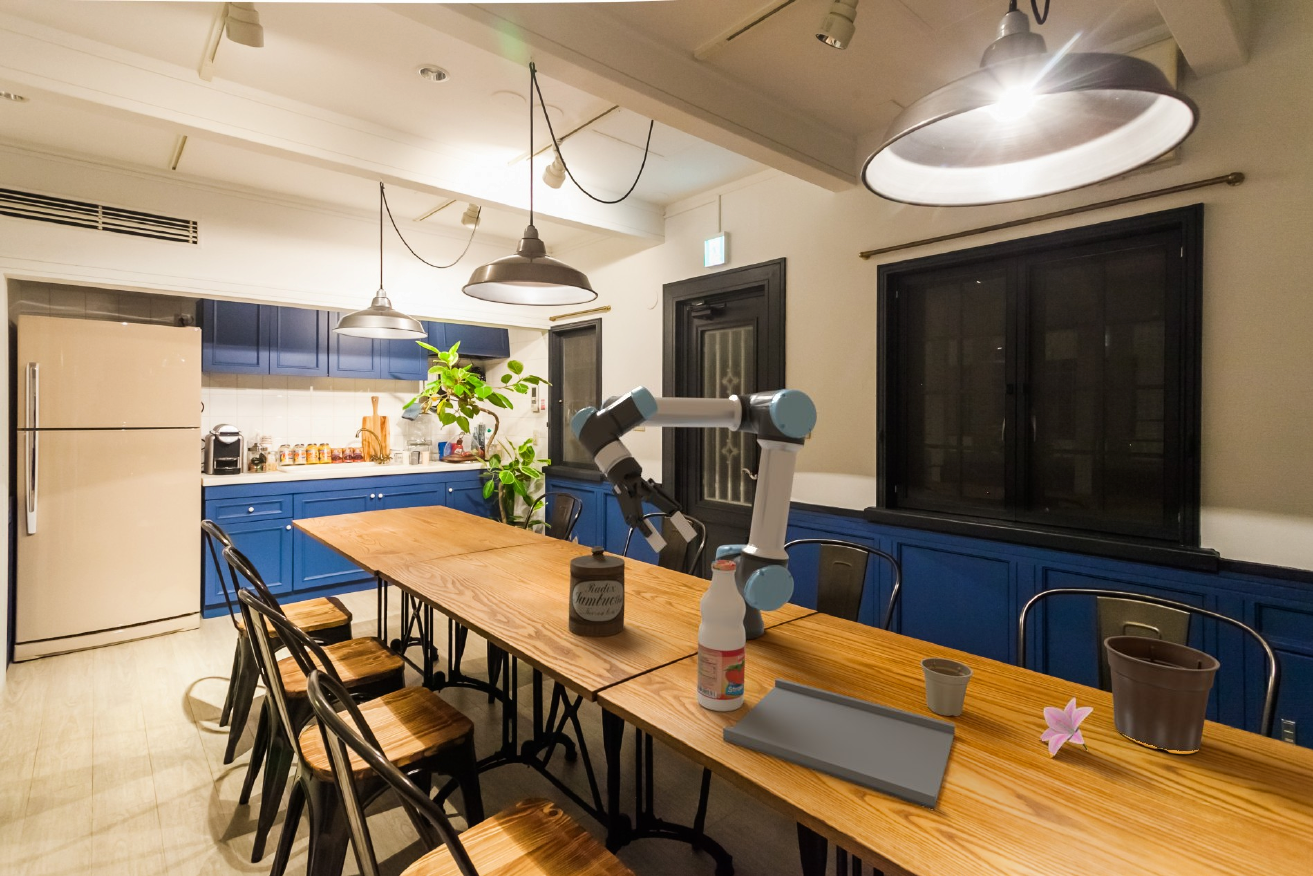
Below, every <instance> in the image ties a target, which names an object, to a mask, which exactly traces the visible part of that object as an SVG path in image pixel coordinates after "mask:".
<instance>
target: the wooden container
mask: <svg viewBox="0 0 1313 876" xmlns="http://www.w3.org/2000/svg"><path fill="white" fill-rule="evenodd" d="M590 552H591V554H588V555H582V556H577V557H574V558H572V559H571V560H570V561H569V563H570V565H569V566H570V567H569V570H570V571H569V572H570V577H569V596H568V597H569V599H568V629H569V631H570V632H572V634H576V635H579V636H582V637H588V638H589V637H590V638H592V637H593V638H598V637H599V638H600V637H601V638H602V637H608V636H612V635H613V636H614V635H617V634H619V633H620V632H622V631H623V629H624V627H625V626H624V625H625V607H626V605H625V602H626V601H625V595H626V593H625V592H626V591H625V583H626V580H625V578H626V577H625V575H626V574H625V569H626V568H625V567H626V566H625V565H626V564H625V563H626V561H625V560H624V558H622V557H619V556H614V555H609V554H608V555H607V554H604V552H605V548H604V547H603V546H601V545H595V546H593V547H592V548H591V550H590Z"/></svg>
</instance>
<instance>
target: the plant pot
mask: <svg viewBox="0 0 1313 876" xmlns="http://www.w3.org/2000/svg"><path fill="white" fill-rule="evenodd" d="M1103 645H1104V647H1105V648H1106V651H1107V661H1108V662H1107V663H1108V665H1109V668H1110V677H1111V690H1112V691H1111V692H1112V706H1113V708H1112V709H1113V723H1114V727H1115V729H1117V730H1118V731H1119V732H1121V733H1122V734H1124V735H1126V736H1128V737H1130V738H1132V739H1135V740H1136V741H1140V742H1142V743H1146V744H1148V745H1153V746H1155V747H1157V748H1163V749H1167V750H1177V751H1178V750H1179V751H1192V750H1193V751H1194V750H1198V749H1199V748H1200V749H1201V745H1202V737H1203V732H1204V727H1205V721H1206V720H1205V719H1206V714H1207V708H1208V707H1207V706H1208V702H1209V701H1208V700H1209V696H1210V691H1211V689H1212V688H1213V686H1214V681H1215V675H1216V671H1218V670H1219V669H1220V667H1221V663H1220V662H1219V661H1218V660H1217V659H1216V658H1214V657H1213V656H1211V655H1210V654H1207V653H1206V652H1203V651H1201V650H1198V649H1196V648H1192V647H1188V646H1186V645H1183V644H1179V643H1174V642H1172V641H1167V640H1162V639H1158V638H1157V639H1156V638H1152V637H1144V636H1133V635H1118V636H1111V637H1110V636H1109V637H1107V638H1105V639H1104V641H1103ZM1117 730H1116V731H1117ZM1118 731H1117V732H1118ZM1119 732H1118V733H1119ZM1163 749H1162V750H1163Z"/></svg>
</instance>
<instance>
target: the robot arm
mask: <svg viewBox="0 0 1313 876" xmlns="http://www.w3.org/2000/svg"><path fill="white" fill-rule="evenodd" d="M817 413H818V412H817V408H816V405H815V403H814V401H813V400H812V399H811V397H810V396H809V395H808V394H806V393H805V392H803V391H802V390H799V389H793V388H792V389H791V388H781V389H777V390H776V389H775V390H765V391H760V392H756V393H748V394H731V395H730V397H728V398H718V397H717V398H715V397H714V398H712V397H710V398H709V397H708V398H707V397H664V396H663V397H660V396H658V397H656V396H653V394H652V393H651V392H650V390H648V389H647V387H645V386H638V387H636V388H634V389H632V390H630V391H629V392H628V393H626V394H623V395H619V396H615V395H614V396H610V397H608V398H607V399H606V400H605V401H603V403H602V404H601V406H600V410H598V409H597V408H596V407H595V406H587V407H586V408H585V407H584V408H582V409H580V410H578V411H577V412H576V413H575V414H574V415H573V416H572V419H570V424H569V427H570V430H571V432H573V434H574V435H575V437H576V439H577V440H578V443H580V445H581V446H582V447H583V448H584V450H585V451H586V452H587V453H588V455H589V456H590V457H591V459H592V460H593V461H594V463H595V464H596V466H598V468H599V469H598V470H599V471H601V472H602V473H603V475H605V476H606V479H607V481H608V482H609V484H610V485H611V486H612V487H613V488H611V491H612V493H613V495H614V496H615V497H616V500H617V502H618V504H619V508H620V511H621V513H622V516H623V519H624V521H625V524H626V525H627V526H629V527H630V528H631V530H635V529H636V528H637V529H638V530H639V531H640V533H641V534H642V536H643V537H644V538H645V540H646V541H647V543H648V544H649V545H650V546H651V548H652V549H653V550H654V552H655V553H656V554H657V553H659V552H660V551H661V550H662V549H663V548H665V546H666V545H667V544H668V543H667V542H666V541H665V539H664V538H663V537H662V536H661V534H660V532H659V531H658V530H657V528H655V526H654V525H653V524H652V522H651V521H650V519H649V518H645V515H644V510H643V505H642V502H645V503H646V504H651V505H653V506H654V507H656V508H657V509H658V510H660V511H662V512H663V513H664V514H666V515H667V516H669V517H670V518H669V520H670V521H671V523H672V524H673V525H674V527H675V528H676V529H677V531H678V532H679V533H680V534H681V536H682V537H683V538H684V540H685V541H686V542H687V543H689V542H691V541H692V540H693V539H694V538H695V537H696V536H697V535H698V533H697V532H696V530H695V529H694V528H693V527H692V525H690V523H689V522H688V520H687V519H686V518H685V517H684V515H683V514H682V513H681V512H680V511H681V510H683V506H682V504H681V503H679V502H678V501H677V500H676V499H675V498H674V497H672V496H671V495H670V494H669V493H667V491H666V490H664V488H662V487H661V486H660V485H659V484H658V483H657V482H656V481H655V480H654V479H653V478H652V477H649V478H648V479H647V480H646V479H645V478H643V477H642V473H643V467H642V466H641V465H640V463H639V462H638V461H637V459H636V457H633V454H632V453H631V451H630V450H629V449H628V448H627V446H626V445H625V444H624V443H623V441H622V440H621V439H620V438H622V437H624V435H626V434H627V433H629V432H631V431H633V429H635V428H637V427H644V428H646V427H648V428H649V427H653V428H654V427H655V428H656V427H658V428H661V427H663V428H665V427H666V428H668V427H669V428H676V427H677V428H727V429H728V430H730V431H731V432H744V433H751V434H757V437H756V441H757V443H758V444H759V446H760V447H761V451H760V452H761V453H760V459H759V465H758V466H759V468H758V474H757V479H756V480H757V482H756V490H755V497H754V505H753V511H752V519H751V526H750V533H749V540H748V543H747V544H723V545H720V546H718V547H717V549H716V554H715V560H714V561H716V560H728V561H733V562H735V563H736V572H735V573H734V577H735V582H736V586H737V589H738V591H739V593H740V594H741V596H742V597H743V599H744V601H745V605H746V612H745V616H744V619H743V626H744V628H745V637H746V640H754V639H758V638H760V637H762V636H763V635H764V633H765V623H764V620H763V616H762V613H761V612H762V611H763V612H774V611H778V610H779V609H781V608H782V607H783V606H784V605H786V604H787V603H788V602H789V600H790V599H791V597H792V595H793V592H794V585H795V583H794V579H793V576H792V574H791V572H790V571H789V570H788V566H789V558H790V557H789V555H788V553H787V552H786V550H785V541H786V535H787V527H788V519H789V514H790V513H789V512H790V505H791V497H792V490H793V482H794V475H795V470H796V469H795V468H796V460H797V454H798V452H799V451H801V450H802V449H803V448H804V447H805V443H806V436H808V435H809V434H810V433H811V432H813V430H814V428H815V426H816V424H817V419H818V418H817V417H818V416H817V415H818V414H817Z"/></svg>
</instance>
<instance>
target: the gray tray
mask: <svg viewBox="0 0 1313 876" xmlns="http://www.w3.org/2000/svg"><path fill="white" fill-rule="evenodd" d="M722 730H723V732H722V740H723V741H725V742H728V743H731V744H734V745H737V746H740V747H743V748H746V749H749V750H752V751H756V752H758V753H761V754H764V755H767V756H770V757H772V758H776V759H778V760H782V761H785V762H788V763H790V764H794V765H798V766H800V767H802V768H805V769H807V770H808V769H809V770H812V771H814V772H818V773H821V774H825V775H826V776H829V777H833V778H835V779H839V780H842V781H845V782H848V783H851V784H854V785H857V786H859V787H863V788H866V789H868V790H872V791H875V792H878V793H881V794H884V795H887V796H890V797H893V798H896V799H899V800H902V801H905V802H907V803H911V804H914V805H916V804H917V806H919V805H920V806H919V807H922V806H924V807H923V808H926V809H928V808H930V809H929V810H931V809H933V810H932V811H935V809H936V806H937V802H936V801H938V797H939V795H940V791H939V790H941V787H942V783H943V780H944V776H943V775H945V771H946V769H945V768H947V765H946V764H948V761H949V757H948V756H950V754H949V753H951V750H950V749H952V746H951V745H953V743H954V739H955V735H956V734H955V732H956V724H955V723H953V722H950V721H949V722H948V721H945V720H940V719H936V718H933V717H930V716H925V715H921V714H917V713H914V712H909V711H906V710H902V709H897V708H895V707H892V706H891V707H890V706H886V705H883V704H880V703H879V704H878V703H876V702H872V701H867V700H865V699H864V700H863V699H859V698H856V697H852V696H847V695H844V694H840V693H836V692H832V691H829V690H826V689H821V688H817V687H813V686H810V685H805V684H803V683H802V684H801V683H799V682H795V681H791V680H786V679H783V678H779V677H777V678H775V680H774V687H772V689H770V691H768V692H767V693H766V695H764V696H763V697H762V699H760V700H759V701H758V702H757V703H756V704H755V705H753V707H752V708H751V709H750V710H749V711H748V712H747V713H746V714H744V716H742V718H741V719H739V721H738V722H736V723H735V725H733V726H727V725H726V726H725V727H724V728H723V729H722ZM954 734H955V735H954ZM953 738H954V739H953ZM952 742H953V743H952ZM947 760H948V761H947ZM942 779H943V780H942ZM938 794H939V795H938ZM935 805H936V806H935Z"/></svg>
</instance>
